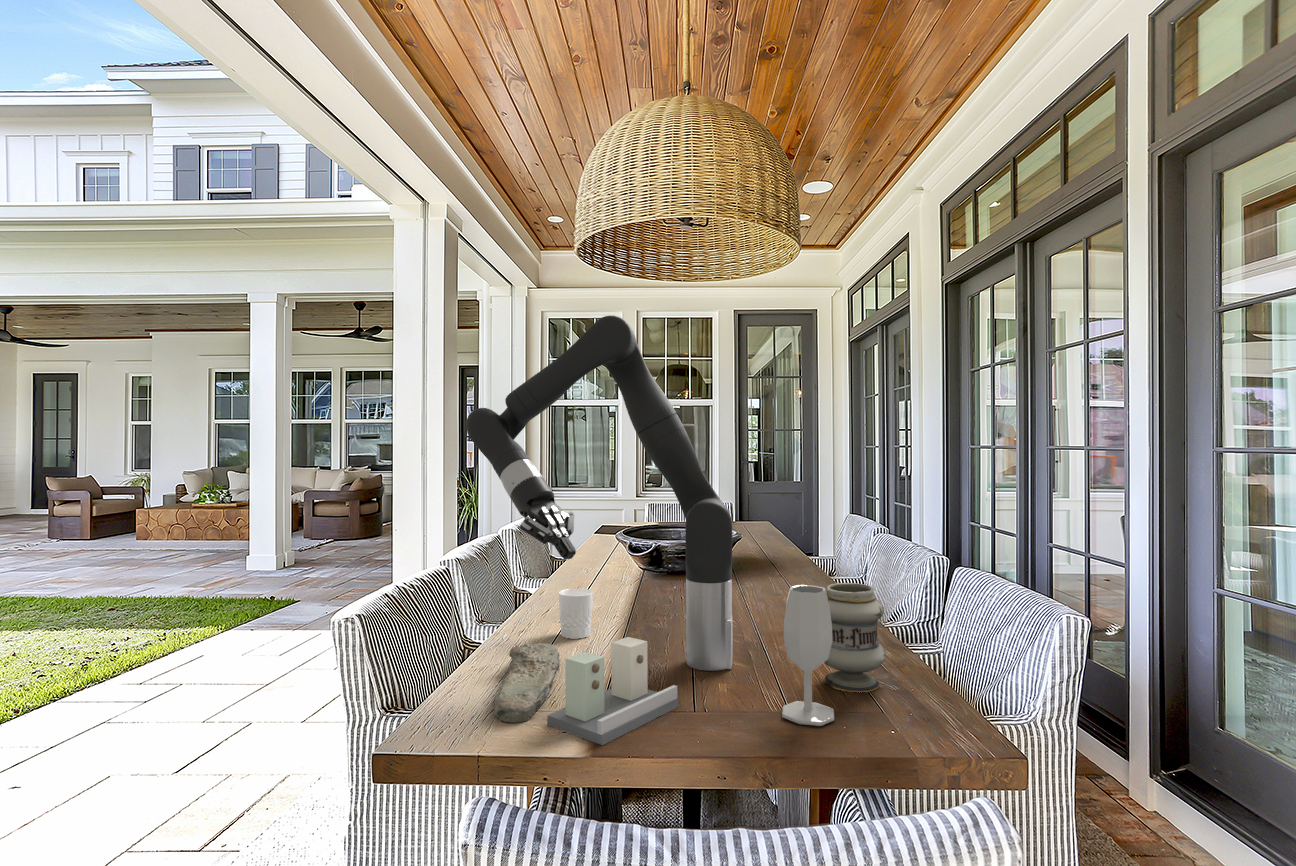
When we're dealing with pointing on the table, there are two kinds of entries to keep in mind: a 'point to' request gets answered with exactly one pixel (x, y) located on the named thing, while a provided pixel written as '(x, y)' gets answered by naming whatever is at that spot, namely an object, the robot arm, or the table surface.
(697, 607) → the robot arm
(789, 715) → the wineglass
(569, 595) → the white cup
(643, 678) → the white block
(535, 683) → the elongated rock
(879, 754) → the table surface
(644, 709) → the tile board
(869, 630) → the apothecary jar
